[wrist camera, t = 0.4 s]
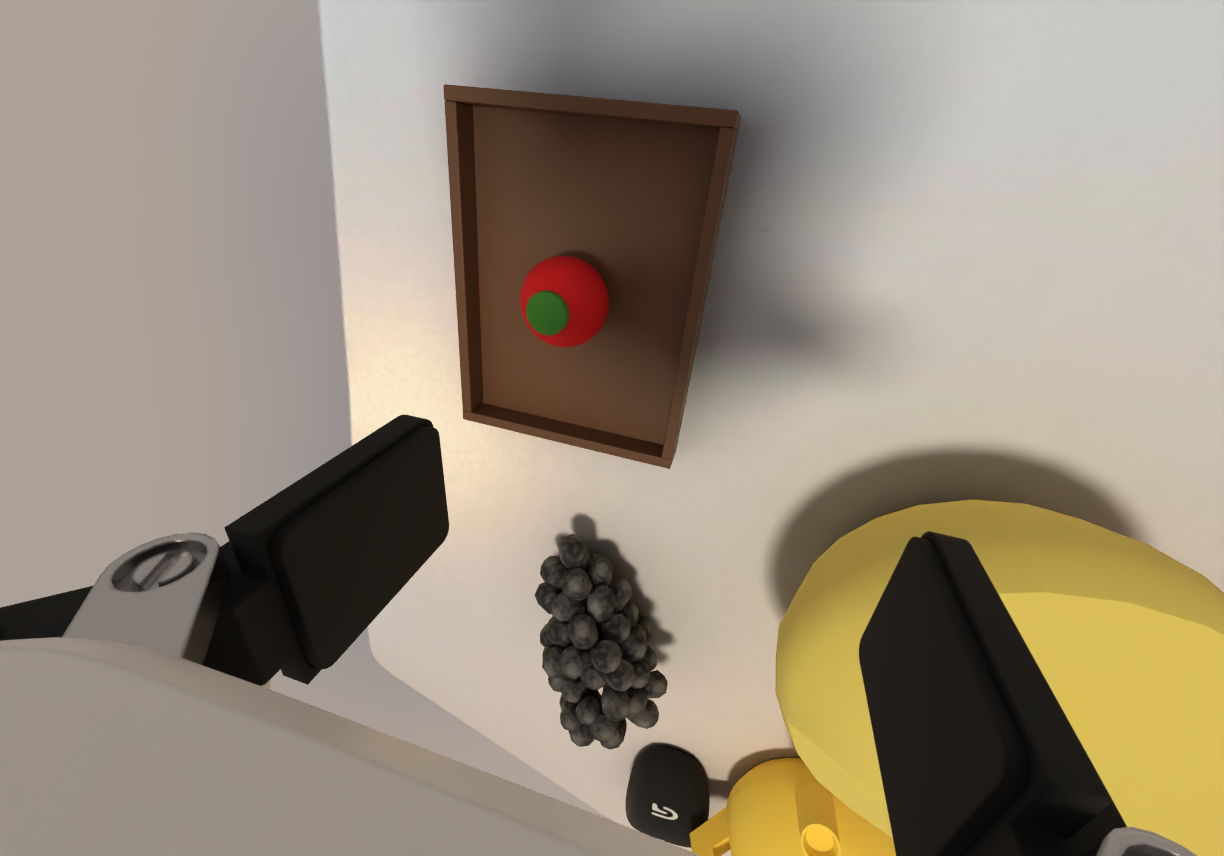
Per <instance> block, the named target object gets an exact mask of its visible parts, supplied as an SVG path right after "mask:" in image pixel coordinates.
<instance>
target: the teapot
mask: <svg viewBox="0 0 1224 856" xmlns="http://www.w3.org/2000/svg"><path fill="white" fill-rule="evenodd" d="M690 840H691V847H692V853H695V854H697V855H700V856H721V855H723V854H724V853H725V852H727V851H728V850H730V849H731V853H732V856H896V852H895V847H894V842H893V838H891V837H890V836H889V835H887V834H886V833H884V832H883V831H881V830H880V829H879V828H877V827H876V826H874V825H873V824H872V823H870V822H869V821H867V820H866V819H864V818H863V817H862V816H860V815H859V814H857V813H856V812H854V811H853V810H852V809H850V808H849V807H848V806H846V805H845V804H844V803H843V802H842V801H840V800H839V799H838V798H837V797H836V796H835V795H833V794H832V793H831V792H830V791H829V790H828V789H826V788H825V787H824V786H823V785H822V784H821V783H819V782H818V781H817V780H816V778H815V777H814V775H813V774H812V773H811V771H810V770H809V768H808V767H807V766H806V764H805V763H804V762H803V760H802V759H801V758H780V759H773V760H769V761H766V762H763V763H761V764H759V765H757V766H755V767H754V768H753V769H751V770H750V771H749V772H747V773H746V774H745V775H744V776H743V777H742V778H741V779H740V780H739V781H738V782H737V783H736V784H735V785H734V787H733V788H732V790H731V793H730V795H729V797H728V802H727V807H725V808H724V809H723V810H721V811H720V812H719V813H717V814H716V815H715V816H713V817H712V818H710V819H709V820H708V821H706V822H705V823H704V824H702V825H701V826H699V827H698V828H697V829H695V830H694V831H693V832H691V833H690Z"/></svg>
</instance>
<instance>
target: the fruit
mask: <svg viewBox="0 0 1224 856" xmlns="http://www.w3.org/2000/svg"><path fill="white" fill-rule="evenodd" d="M558 548H559V554H560V557H558V556H550V557H548V558H547V559H545V561H544V562H543V564H542V566H541V571H540V575H541V576H542V578H543V580H544V581H545V582H544V583H542V584H540V585H539V587H538V589H537V591H536V593H535V597H536V600H537V602H538V604H539V605H540V606H541V607H542V608H543V609H544V610H546V611H547V612H548V613H549V614H552V615H553V617H552V618H551V619H550V620H549V622H548V624H546V625H545V626H544V628H543V629H542V631H541V633H540V643H541V644H542V645H543V646H544V647H545V648H544V651H543V665H542V667H543V669H544V670H545V672H546V673H547V675H548V676H549V678H548V680H549V685H550V686H551V687H552V689H553V690H554V691H558V692H560V691H561V693H562V695H561V699H560V706H561V710H562V712H561V714H560V720H561V724H562V726H563V728H564V729H566V730H569V734H570V737H571V740H572V742H574V743H575V744H576V745H577V746H581V747H582V746H588V745H589V744H591V743H592V742H593V741H594V739H595V740H598V741H600V743H601V745H602V746H603V747H605V748H607V749H613V748H617V747H619V745H620V744H621V743H622V742H623V740H624V736H625V733H626V725H627V724H626V719H625V718H626V717H627V718H628V719H629V720H630V721H631V722H632V723H634V724H635V725H637V726H639V727H642V728H646V729H647V728H650V727H653V726H654V725H655V724H656V723H657V721H658V716H659V712H658V708H657V706H656V704H655V703H654V702H653V701H651V700H649V699H647V698H659V697H661V696H662V695H663V694H665V693H666V690H667V680H666V678H665V676H664V675H663V674H661V673H660V672H659V671H658V670H657V671H652V672H650V671H651V670H653V669H654V668H655V667H656V666H657V657H656V654H655V652H654V650H652V649H651V648H650V647H649V646H647V642H648V641H649V639H650V638H651V636H652V625H651V623H650V622H649V621H648V620H647V619H645V618H643V617H638V615H639V610H638V608H637V606H636V604H635V603H633V602H631V601H630V600H629V599H630V597H631V596H632V594H633V593H632V589H631V587H630V585H629V583H628V581H627V580H625V579H623V578H617V577H614V578H613V579H612V573H613V566H612V565H611V563H610V562H609V560H608V559H606V558H605V557H603V556H602V555H601V554H594V555H593V550H592V548H591V546H590V545H589V544H588V543H587V542H586V541H584V540H583V539H582V537H581V536H578V535H575V534H571V535H568V536H566V537H563V538H562V540H561V542H560V544H559V546H558ZM602 687H603V693H602V696H601V695H600V693H599V692H598V689H599V688H602Z"/></svg>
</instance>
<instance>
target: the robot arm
mask: <svg viewBox="0 0 1224 856" xmlns="http://www.w3.org/2000/svg"><path fill="white" fill-rule="evenodd" d="M448 530H449V520H448V511H447V502H446V493H445V484H444V475H443V466H442V457H441V447H440V438H439V433H438V431H437V429H435V428H434V427H433V424H432V423H431V421H429V420H427V419H423V418H418V417H414V416H409V415H400V416H398V417H397V418H395V419H393V420H392V421H390V422H389V423H387V424H386V425H384V426H383V427H381V428H379V429H378V430H376V431H375V432H373V433H372V434H370V435H368V436H367V437H365V438H364V439H362V440H361V441H359V442H358V443H356V444H354V445H353V446H351V447H350V448H348V449H347V450H345V451H343V452H342V453H341V454H339V455H337V456H336V457H334V458H333V459H331V460H329V461H328V462H326V463H325V464H323V465H322V466H320V467H318V468H317V469H315V470H314V471H312V472H311V473H309V474H307V475H306V476H304V477H303V478H301V479H300V480H298V481H297V482H295V483H293V484H292V485H290V486H289V487H287V488H286V489H284V490H283V491H281V492H279V493H278V494H276V495H275V496H273V497H272V498H270V499H268V500H267V501H265V502H264V503H262V504H261V505H259V506H257V507H256V508H254V509H253V510H251V511H250V512H248V513H247V514H245V515H244V516H242V517H240V518H239V519H237V520H236V521H234V522H233V523H231V524H229V525H228V526H226V527H225V531H226V533H227V535H228V538H229V542H227V543H226V544H224V545H223V546H221V547H220V546H219V544H218V543H217V541H216V540H215V538H213V537H211V536H208V535H206V534H200V533H183V534H174V535H170V536H167V537H163V538H158V539H155V540H153V541H150V542H148V543H145V544H142V545H140V546H138V547H136V548H134V549H132V550H130V551H128V552H127V553H125V554H123V555H122V556H120V557H119V558H118V559H116V560H115V561H114V562H112V563H111V564H110V565H109V566H108V567H107V568H106V569H105V570H104V571H103V572H102V574H101V575H100V576H99V578H98V579H97V581H96V583H95V584H94V586H91V587H86V588H82V589H78V590H74V591H69V592H65V593H61V594H57V595H52V596H48V597H44V598H40V599H35V600H31V601H27V602H23V603H19V604H14V605H10V606H6V607H2V608H0V856H700V855H697V854H695V853H692V852H689V851H687V850H684V849H682V848H679V847H677V846H674V845H672V844H669V843H667V842H664V841H661V840H659V839H656V838H654V837H651V836H649V835H646V834H644V833H641V832H639V831H636V830H633V829H631V828H628V827H626V826H623V825H621V824H618V823H616V822H613V821H611V820H608V819H605V818H603V817H600V816H598V815H595V814H593V813H590V812H587V811H585V810H582V809H579V808H577V807H575V806H572V805H569V804H567V803H564V802H562V801H559V800H556V799H554V798H551V797H549V796H546V795H544V794H541V793H538V792H536V791H533V790H531V789H528V788H526V787H523V786H520V785H518V784H515V783H513V782H510V781H507V780H505V779H502V778H500V777H497V776H495V775H492V774H489V773H487V772H484V771H481V770H479V769H476V768H474V767H471V766H469V765H466V764H463V763H461V762H458V761H455V760H453V759H451V758H448V757H445V756H442V755H440V754H437V753H435V752H432V751H430V750H427V749H425V748H422V747H419V746H417V745H414V744H412V743H409V742H406V741H404V740H401V739H399V738H396V737H393V736H391V735H388V734H385V733H383V732H380V731H377V730H375V729H372V728H370V727H367V726H364V725H362V724H359V723H356V722H354V721H351V720H348V719H346V718H343V717H341V716H338V715H336V714H333V713H330V712H328V711H325V710H322V709H320V708H317V707H314V706H312V705H309V704H307V703H304V702H301V701H299V700H296V699H293V698H291V697H288V696H286V695H283V694H280V693H278V692H275V691H272V690H270V689H269V686H270V681H271V678H272V677H273V676H274V675H275V674H276V673H277V672H278V671H279V670H280V669H281V671H282V673H283V675H284V676H286V677H289V678H292V679H294V680H297V681H300V682H302V683H305V684H309V683H310V682H311V680H312V679H313V678H314V677H315V676H316V675H317V674H318V673H319V672H320V671H321V669H326V668H328V667H330V666H332V665H333V664H334V663H335V662H336V661H337V660H338V659H339V658H340V656H341V655H342V654H343V653H344V652H345V651H346V650H347V649H348V647H349V646H350V645H351V644H352V643H353V642H354V641H355V640H356V639H357V637H358V636H359V635H360V634H361V633H362V632H363V631H364V629H366V627H367V626H368V625H369V624H370V623H371V622H372V621H373V620H374V619H375V617H376V616H377V615H378V614H379V613H380V612H381V611H382V610H383V609H384V607H385V606H386V605H387V604H388V603H389V602H390V601H391V600H392V599H393V597H394V596H395V595H396V594H397V593H398V592H399V591H400V590H401V588H402V587H403V586H404V585H405V584H406V583H407V582H408V581H409V580H410V578H411V577H412V576H413V575H414V574H415V573H416V572H417V571H418V570H419V568H420V567H421V566H422V565H423V564H424V563H425V562H426V561H427V560H428V558H429V557H430V556H431V555H432V554H433V553H434V552H435V551H436V549H437V548H438V547H439V546H440V545H441V544H442V543H443V541H444V540H445V538H446V536H447V534H448ZM859 661H860V667H861V672H862V677H863V683H864V688H865V693H866V698H867V704H868V709H869V714H870V720H871V725H872V730H873V736H874V741H875V746H876V751H877V757H878V762H879V767H880V773H881V778H882V783H883V789H884V794H885V799H886V804H887V810H888V815H889V820H890V826H891V831H892V836H893V842H894V847H895V852H896V856H1197V855H1195V854H1194V853H1192V852H1191V851H1189V850H1188V849H1186V848H1185V847H1183V846H1182V845H1180V844H1178V843H1176V842H1174V841H1172V840H1169V839H1167V838H1165V837H1163V836H1161V835H1159V834H1157V833H1155V832H1151V831H1147V830H1143V829H1139V828H1135V827H1127V825H1126V824H1125V822H1124V820H1123V818H1122V816H1121V815H1120V813H1119V811H1118V809H1117V807H1116V806H1115V804H1114V802H1113V800H1112V798H1111V796H1110V795H1109V793H1108V791H1107V789H1106V787H1105V785H1104V784H1103V782H1102V780H1101V778H1100V776H1099V775H1098V773H1097V771H1096V769H1095V767H1094V766H1093V764H1092V762H1091V760H1090V758H1089V757H1088V755H1087V753H1086V751H1085V749H1084V748H1083V746H1082V744H1081V742H1080V740H1079V739H1078V737H1077V735H1076V733H1075V731H1074V730H1073V728H1072V726H1071V724H1070V722H1069V721H1068V719H1067V717H1066V715H1065V713H1064V712H1063V710H1062V708H1061V706H1060V704H1059V702H1058V701H1057V699H1056V697H1055V695H1054V693H1053V692H1052V690H1051V688H1050V686H1049V684H1048V683H1047V681H1046V679H1045V677H1044V675H1043V674H1042V672H1041V670H1040V668H1039V666H1038V665H1037V663H1036V661H1035V659H1034V657H1033V656H1032V654H1031V652H1030V650H1029V648H1028V647H1027V645H1026V643H1025V641H1024V639H1023V638H1022V636H1021V634H1020V632H1019V630H1018V629H1017V627H1016V625H1015V623H1014V621H1013V619H1012V618H1011V616H1010V614H1009V612H1008V610H1007V609H1006V607H1005V605H1004V603H1003V601H1002V600H1001V598H1000V596H999V594H998V592H997V591H996V589H995V587H994V585H993V583H992V582H991V580H990V578H989V576H988V574H987V573H986V571H985V569H984V567H983V565H982V564H981V562H980V560H979V558H978V556H977V555H976V553H975V551H974V549H973V547H972V546H971V544H970V543H969V542H968V541H967V540H965V539H962V538H958V537H953V536H949V535H944V534H940V533H935V532H931V531H928V532H925V533H924V534H923V535H922V536H921V538H919V537H912V538H911V539H910V540H909V541H908V543H907V545H906V547H905V549H904V551H903V553H902V555H901V557H900V559H899V561H898V563H897V566H896V568H895V570H894V572H893V574H892V576H891V578H890V580H889V582H888V584H887V586H886V588H885V590H884V592H883V594H882V596H881V598H880V600H879V602H878V604H877V606H876V609H875V611H874V613H873V615H872V617H871V619H870V621H869V623H868V625H867V627H866V629H865V631H864V633H863V635H862V637H861V640H860V644H859Z"/></svg>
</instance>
